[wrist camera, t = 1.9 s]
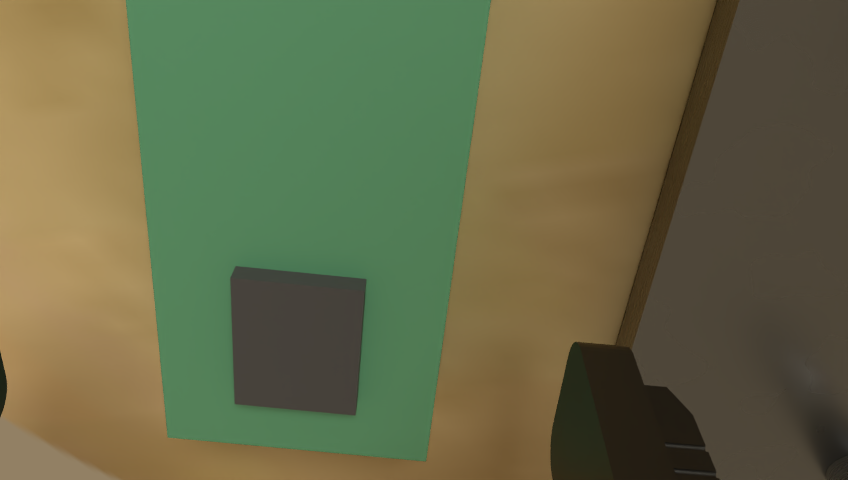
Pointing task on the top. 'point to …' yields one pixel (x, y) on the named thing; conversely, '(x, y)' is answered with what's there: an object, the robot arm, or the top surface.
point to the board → (304, 212)
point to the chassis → (756, 246)
